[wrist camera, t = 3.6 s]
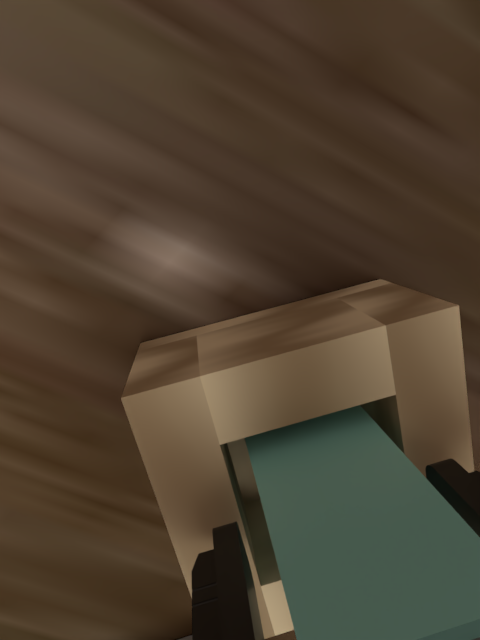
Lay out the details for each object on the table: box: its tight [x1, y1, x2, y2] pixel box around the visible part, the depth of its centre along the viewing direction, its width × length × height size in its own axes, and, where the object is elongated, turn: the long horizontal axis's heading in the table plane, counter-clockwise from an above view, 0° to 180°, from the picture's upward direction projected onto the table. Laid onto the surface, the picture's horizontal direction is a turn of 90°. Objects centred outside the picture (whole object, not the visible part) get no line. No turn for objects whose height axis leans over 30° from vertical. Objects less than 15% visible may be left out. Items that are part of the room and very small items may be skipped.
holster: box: [121, 279, 474, 639], centre depth 15 cm, size 10×10×5 cm
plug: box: [245, 405, 480, 640], centre depth 12 cm, size 4×4×11 cm
